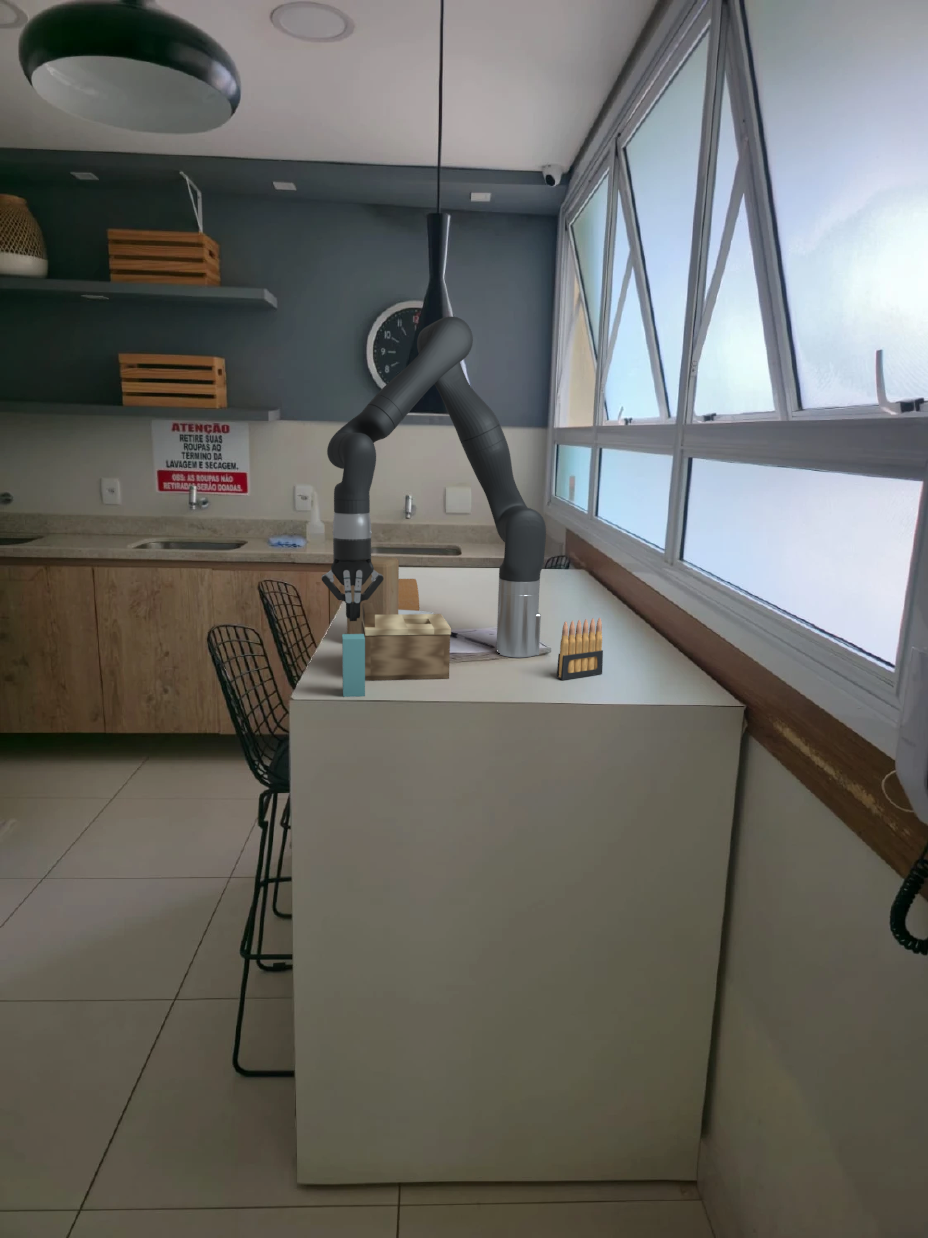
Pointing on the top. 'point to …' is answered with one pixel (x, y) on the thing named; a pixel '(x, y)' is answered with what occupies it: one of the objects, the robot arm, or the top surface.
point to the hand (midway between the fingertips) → (353, 620)
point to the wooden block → (379, 591)
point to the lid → (402, 623)
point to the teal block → (353, 664)
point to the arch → (408, 595)
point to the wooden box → (406, 657)
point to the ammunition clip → (580, 651)
